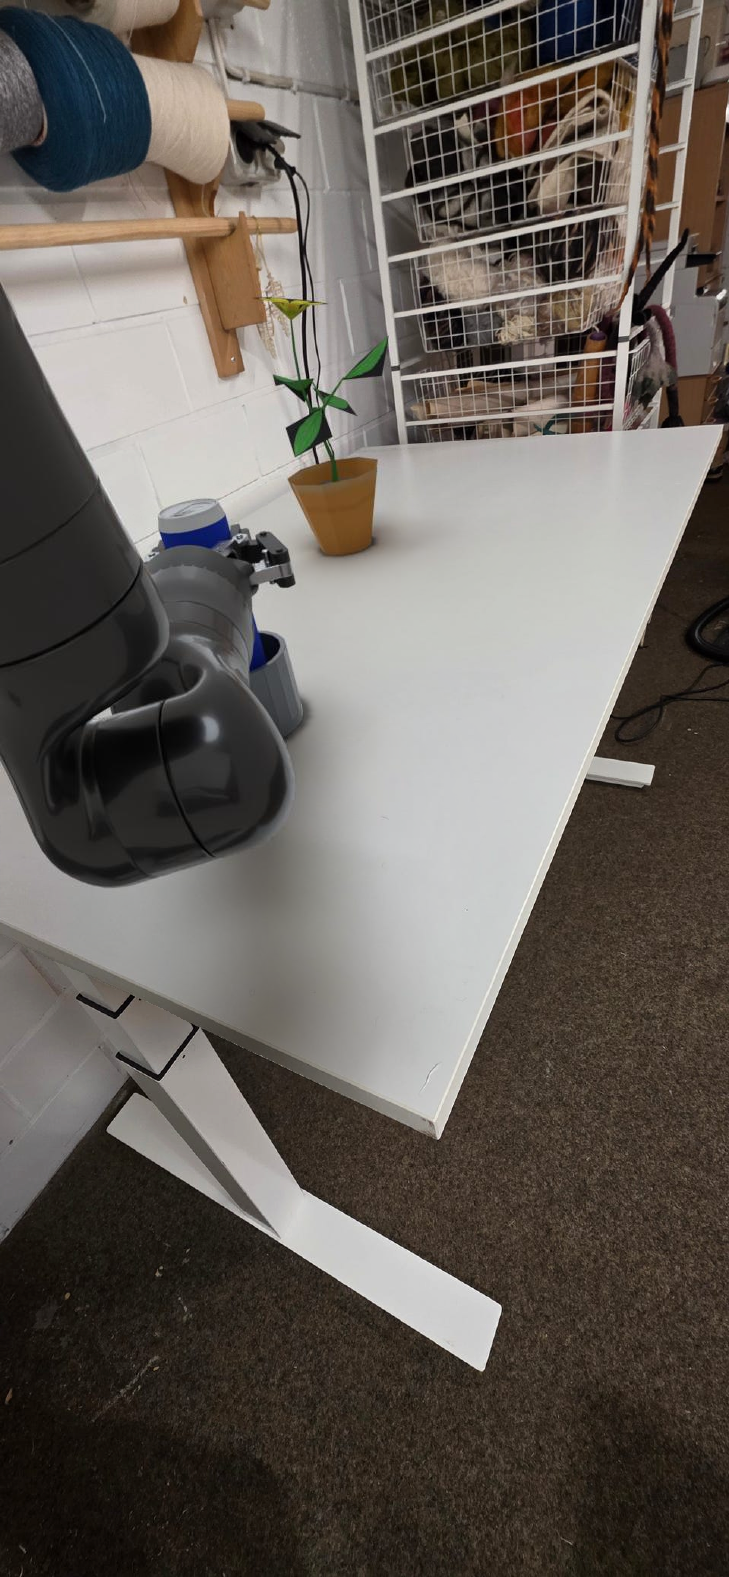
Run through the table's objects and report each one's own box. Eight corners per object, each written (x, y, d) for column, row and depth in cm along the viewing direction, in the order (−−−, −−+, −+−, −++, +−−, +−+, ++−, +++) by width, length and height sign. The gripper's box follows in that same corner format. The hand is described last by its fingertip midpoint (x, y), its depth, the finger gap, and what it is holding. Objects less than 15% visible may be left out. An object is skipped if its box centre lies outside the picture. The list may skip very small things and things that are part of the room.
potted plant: (372, 574, 86) (325, 284, 67) (260, 566, 95) (191, 309, 77) (435, 524, 97) (410, 263, 78) (329, 521, 106) (284, 287, 88)
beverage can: (238, 665, 62) (186, 497, 53) (281, 672, 60) (235, 496, 51) (201, 693, 59) (139, 519, 50) (246, 701, 57) (189, 520, 48)
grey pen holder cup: (210, 761, 58) (184, 692, 54) (205, 711, 65) (182, 646, 61) (310, 734, 59) (292, 663, 55) (295, 687, 66) (278, 621, 62)
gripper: (291, 543, 39) (278, 477, 52) (48, 594, 39) (97, 515, 52) (317, 658, 44) (299, 570, 57) (100, 705, 43) (133, 606, 57)
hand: (203, 544), depth 55 cm, fingers closed on beverage can, 5 cm apart
